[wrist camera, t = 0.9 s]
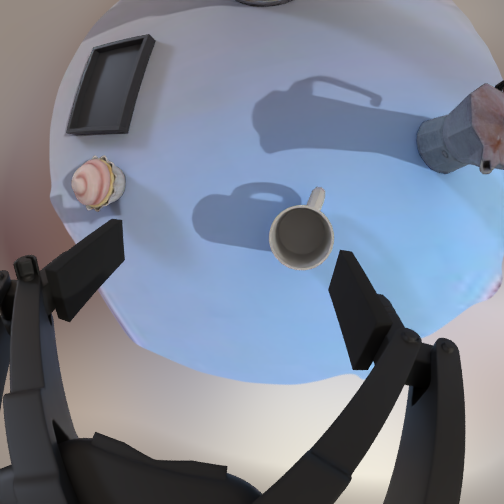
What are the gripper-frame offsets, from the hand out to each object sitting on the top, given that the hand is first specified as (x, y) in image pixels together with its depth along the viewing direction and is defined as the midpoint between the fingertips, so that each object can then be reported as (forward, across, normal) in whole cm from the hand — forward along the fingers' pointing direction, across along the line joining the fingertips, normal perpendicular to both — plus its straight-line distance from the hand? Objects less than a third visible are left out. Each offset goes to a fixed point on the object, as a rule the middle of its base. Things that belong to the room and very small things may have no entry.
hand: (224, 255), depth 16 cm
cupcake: (+28, -24, -4) cm, 37 cm away
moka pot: (+24, +28, +12) cm, 39 cm away
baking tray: (+34, -29, +15) cm, 47 cm away
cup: (+23, +8, -4) cm, 25 cm away
